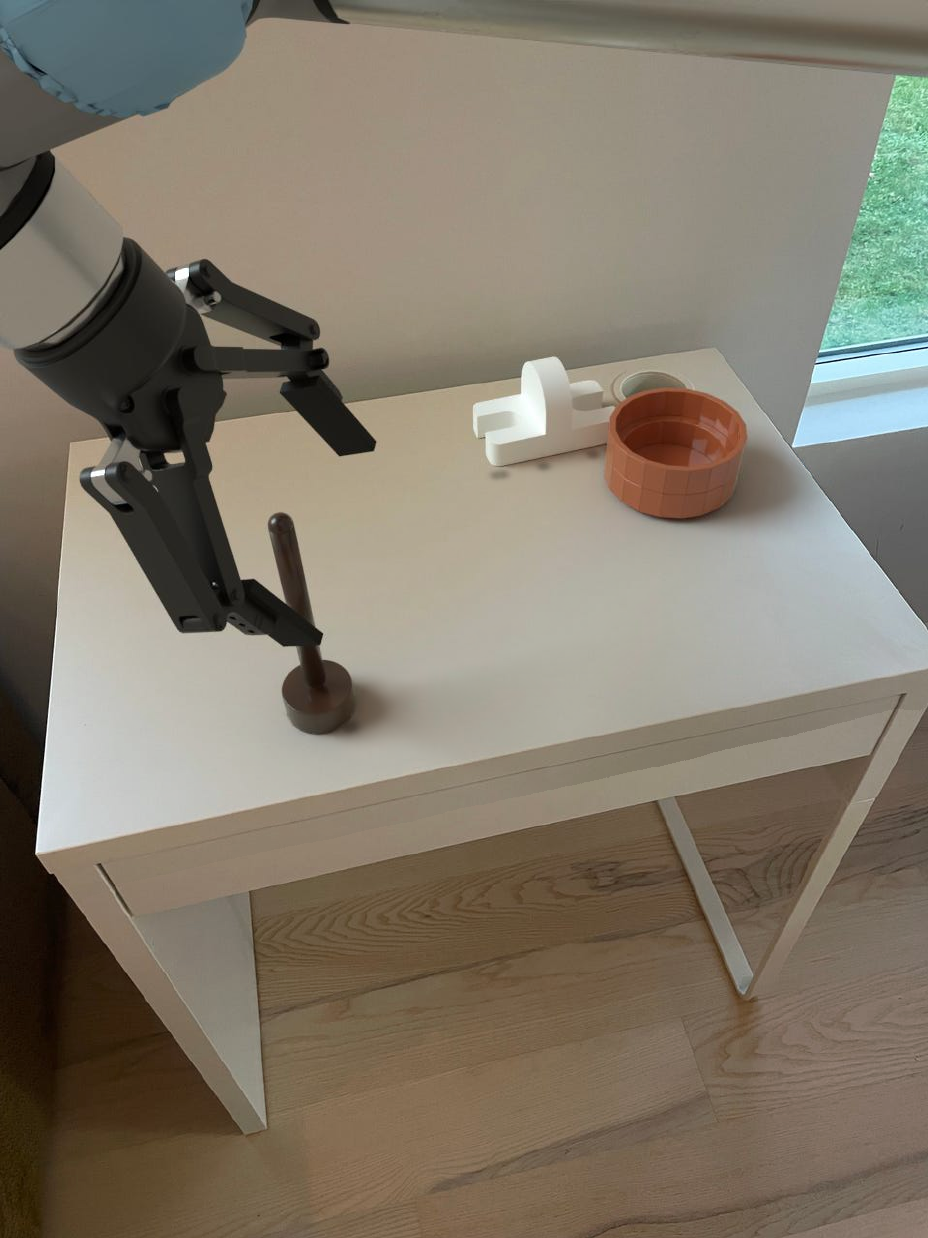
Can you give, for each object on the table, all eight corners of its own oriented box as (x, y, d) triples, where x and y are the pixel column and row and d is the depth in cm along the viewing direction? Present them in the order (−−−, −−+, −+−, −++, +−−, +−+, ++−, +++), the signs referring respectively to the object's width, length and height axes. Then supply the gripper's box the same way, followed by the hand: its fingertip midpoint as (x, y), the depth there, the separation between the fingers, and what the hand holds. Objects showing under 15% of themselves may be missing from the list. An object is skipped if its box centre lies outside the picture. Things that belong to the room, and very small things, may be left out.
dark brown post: (368, 692, 74) (336, 500, 60) (333, 744, 71) (292, 554, 57) (309, 671, 76) (266, 479, 61) (273, 720, 73) (218, 530, 58)
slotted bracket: (593, 400, 99) (598, 332, 93) (620, 440, 94) (627, 371, 88) (471, 425, 96) (469, 357, 91) (492, 467, 92) (492, 398, 86)
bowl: (749, 458, 92) (761, 405, 87) (714, 538, 85) (726, 484, 80) (628, 427, 96) (634, 375, 91) (585, 501, 88) (589, 448, 84)
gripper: (103, 124, 50) (332, 388, 66) (-106, 539, 39) (226, 730, 56) (213, 79, 46) (426, 369, 63) (13, 523, 36) (331, 732, 52)
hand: (332, 540), depth 59 cm, fingers open, 13 cm apart
